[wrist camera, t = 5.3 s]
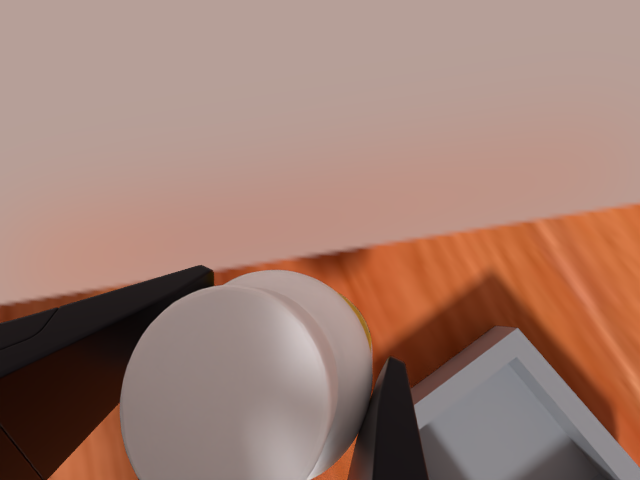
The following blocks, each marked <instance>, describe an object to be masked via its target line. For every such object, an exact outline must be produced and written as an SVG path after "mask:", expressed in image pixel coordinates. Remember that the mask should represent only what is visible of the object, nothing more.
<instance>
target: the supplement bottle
mask: <svg viewBox="0 0 640 480" xmlns="http://www.w3.org/2000/svg"><path fill="white" fill-rule="evenodd" d="M371 390H372V341H371V335H370V331H369V328H368V326H367V323H366V321H365V319H364V318H363V316H362V314H361V313H360V311H359V310H358V309H357V308H356V307H355V305H354V304H353V303H352V302H350V301H349V300H348V299H347V298H346V297H344V296H342V295H341V294H339V293H338V292H336V291H335V290H333V289H332V288H331V287H329V286H328V285H326V284H324V283H323V282H321V281H319V280H317V279H315V278H312V277H310V276H307V275H304V274H300V273H297V272H292V271H286V270H266V271H258V272H252V273H248V274H245V275H242V276H239V277H237V278H235V279H233V280H231V281H229V282H227V283H225V284H224V285H220V286H212V287H209V288H205V289H201V290H198V291H196V292H193V293H191V294H188V295H187V296H185V297H183V298H181V299H179V300H177V301H176V302H174V303H173V304H171V305H170V306H169V307H168V308H167V309H165V310H164V311H163V312H162V313H161V314H160V315H159V316H158V317H157V318H156V319H155V320H154V321H153V322H152V323H151V324H150V325H149V327H148V328H147V329H146V331H145V332H144V334H143V335H142V336H141V338H140V340H139V342H138V343H137V345H136V347H135V349H134V351H133V353H132V356H131V358H130V360H129V363H128V365H127V368H126V372H125V375H124V379H123V384H122V390H121V397H120V422H121V431H122V437H123V441H124V445H125V450H126V453H127V455H128V458H129V460H130V463H131V465H132V467H133V469H134V471H135V473H136V475H137V477H138V479H139V480H311V479H312V478H314V477H316V476H318V475H320V474H322V473H323V472H324V471H326V470H327V469H328V468H330V467H331V466H332V465H333V464H334V463H335V462H337V461H338V460H339V459H340V458H341V456H342V455H343V454H344V453H345V452H346V451H347V449H348V448H349V447H350V445H351V444H352V443H353V441H354V440H355V438H356V436H357V434H358V432H359V430H360V428H361V426H362V423H363V420H364V418H365V415H366V412H367V409H368V407H369V402H370V398H371Z"/></svg>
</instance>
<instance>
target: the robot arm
mask: <svg viewBox="0 0 640 480" xmlns="http://www.w3.org/2000/svg"><path fill="white" fill-rule="evenodd" d="M212 286H214V272H213V270H211V269H209V268H207V267H205V266H202V265H199V266H195V267H192V268H188V269H185V270H182V271H178V272H175V273H171V274H168V275H165V276H161V277H158V278H154V279H151V280H148V281H144V282H141V283H138V284H134V285H131V286H127V287H124V288H121V289H117V290H114V291H111V292H107V293H104V294H101V295H97V296H94V297H90V298H87V299H84V300H80V301H77V302H74V303H70V304H67V305H63V306H61V307H60V308H53V309H50V310H46V311H43V312H40V313H36V314H32V315H29V316H25V317H22V318H18V319H15V320H11V321H7V322H3V323H0V480H47V479H48V478H49V477H50V476H51V475H52V474H53V473H54V472H55V471H56V470H57V469H58V468H59V466H60V465H61V464H62V463H63V462H64V461H65V460H66V459H67V458H68V457H69V456H70V455H71V454H72V453H73V452H74V451H75V449H76V448H77V447H78V446H79V445H80V444H81V443H82V442H83V441H84V440H85V439H86V438H87V437H88V436H89V435H90V433H91V432H92V431H93V430H94V429H95V428H96V427H97V426H98V425H99V424H100V423H101V422H102V421H103V420H104V419H105V417H106V416H107V415H108V414H109V413H110V412H111V411H112V410H113V409H114V408H115V407H116V406H117V405H118V404H119V403H120V397H121V390H122V384H123V379H124V375H125V372H126V368H127V365H128V363H129V360H130V358H131V356H132V353H133V351H134V349H135V347H136V345H137V343H138V342H139V340H140V338H141V336H142V335H143V334H144V332H145V331H146V329H147V328H148V327H149V325H150V324H151V323H152V322H153V321H154V320H155V319H156V318H157V317H158V316H159V315H160V314H161V313H162V312H163V311H164V310H165V309H167V308H168V307H169V306H170V305H171V304H173V303H174V302H176V301H177V300H179V299H181V298H183V297H185V296H187V295H188V294H191V293H193V292H196V291H198V290H201V289H205V288H209V287H212ZM347 480H429V477H428V472H427V467H426V462H425V457H424V452H423V447H422V442H421V438H420V433H419V428H418V423H417V418H416V413H415V408H414V403H413V398H412V394H411V389H410V384H409V379H408V374H407V369H406V365H405V363H404V362H403V361H402V360H399V359H397V358H395V357H393V356H389V357H388V359H387V361H386V363H385V364H384V366H383V368H382V370H381V372H380V374H379V376H378V379H377V382H376V384H375V387H374V390H373V393H372V396H371V398H370V402H369V407H368V409H367V412H366V415H365V418H364V420H363V423H362V426H361V428H360V430H359V433H358V436H357V440H356V444H355V448H354V453H353V457H352V462H351V466H350V470H349V475H348V479H347Z"/></svg>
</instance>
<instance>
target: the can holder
mask: <svg viewBox="0 0 640 480" xmlns="http://www.w3.org/2000/svg"><path fill="white" fill-rule="evenodd" d="M411 394H412V398H413V403H414V408H415V413H416V418H417V423H418V428H419V433H420V438H421V442H422V447H423V452H424V457H425V462H426V467H427V472H428V477H429V480H640V468H639V467H638V465H637V464H636V463H635V462H634V461H633V460H632V459H631V457H630V456H629V455H628V454H627V453H626V452H625V451H624V449H623V448H622V447H621V446H620V445H619V444H618V442H617V441H616V440H615V439H614V438H613V437H612V436H611V434H610V433H609V432H608V431H607V430H606V429H605V428H604V426H603V425H602V424H601V423H600V422H599V421H598V419H597V418H596V417H595V416H594V415H593V414H592V413H591V411H590V410H589V409H588V408H587V407H586V406H585V405H584V403H583V402H582V401H581V400H580V399H579V398H578V396H577V395H576V394H575V393H574V392H573V391H572V390H571V388H570V387H569V386H568V385H567V384H566V383H565V381H564V380H563V379H562V378H561V377H560V376H559V375H558V373H557V372H556V371H555V370H554V369H553V368H552V367H551V365H550V364H549V363H548V362H547V361H546V360H545V358H544V357H543V356H542V355H541V354H540V353H539V352H538V350H537V349H536V348H535V347H534V346H533V345H532V344H531V342H530V341H529V340H528V339H527V338H526V337H525V335H524V334H523V333H522V332H521V331H520V330H519V329H518V328H515V327H504V326H494V327H493V328H492V329H490V330H489V331H488V332H486V333H485V334H484V335H482V336H481V337H480V338H478V339H477V340H476V341H474V342H473V343H472V344H470V345H469V346H468V347H466V348H465V349H464V350H462V351H461V352H460V353H458V354H457V355H456V356H454V357H453V358H452V359H450V360H449V361H447V362H446V363H445V364H443V365H442V366H441V367H439V368H438V369H437V370H435V371H434V372H433V373H431V374H430V375H429V376H427V377H426V378H425V379H423V380H422V381H421V382H419V383H418V384H417V385H415V386H414V387H413V388H411Z"/></svg>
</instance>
